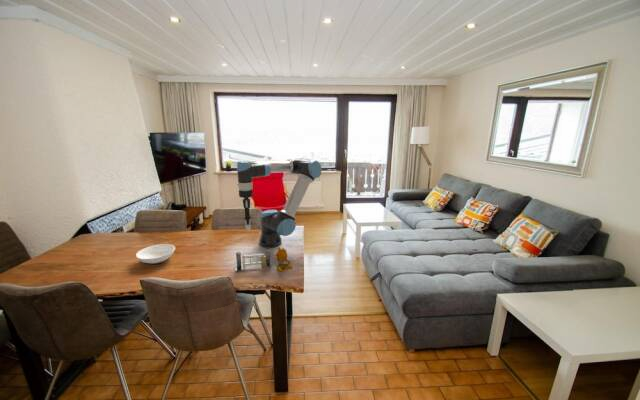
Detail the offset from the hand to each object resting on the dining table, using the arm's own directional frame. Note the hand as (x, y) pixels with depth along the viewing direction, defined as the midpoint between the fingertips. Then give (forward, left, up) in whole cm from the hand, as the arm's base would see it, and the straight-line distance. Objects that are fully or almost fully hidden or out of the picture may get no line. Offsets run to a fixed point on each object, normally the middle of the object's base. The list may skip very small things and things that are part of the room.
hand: (248, 229), depth 152 cm
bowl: (-14, -53, -21) cm, 59 cm away
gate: (+8, +2, -20) cm, 22 cm away
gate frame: (+8, +1, -20) cm, 22 cm away
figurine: (+12, +18, -21) cm, 30 cm away
